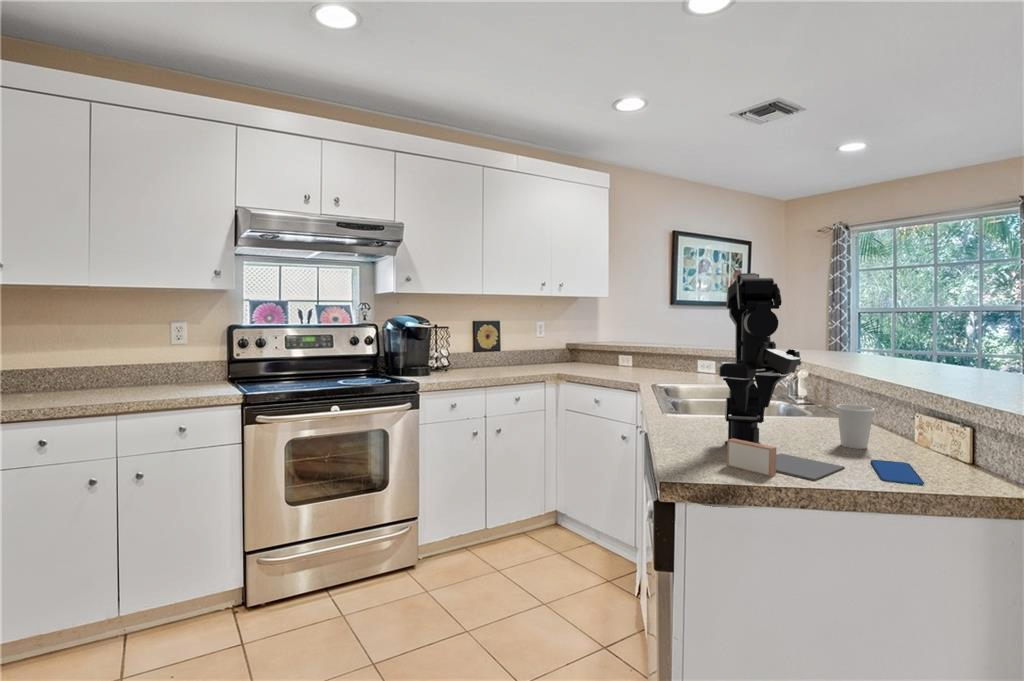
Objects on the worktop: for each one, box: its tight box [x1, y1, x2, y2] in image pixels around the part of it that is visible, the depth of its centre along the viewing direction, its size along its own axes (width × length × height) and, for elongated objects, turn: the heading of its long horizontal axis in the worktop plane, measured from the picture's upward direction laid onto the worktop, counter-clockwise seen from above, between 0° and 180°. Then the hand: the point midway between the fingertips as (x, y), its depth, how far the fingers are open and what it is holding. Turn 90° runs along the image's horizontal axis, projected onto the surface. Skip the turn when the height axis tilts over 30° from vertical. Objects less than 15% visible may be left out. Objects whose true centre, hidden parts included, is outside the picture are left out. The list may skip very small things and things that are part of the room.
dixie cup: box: [835, 403, 876, 450], centre depth 140 cm, size 8×8×10 cm
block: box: [726, 438, 777, 477], centre depth 120 cm, size 10×2×6 cm, turn 37°
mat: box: [776, 452, 846, 482], centre depth 122 cm, size 14×14×1 cm
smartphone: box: [870, 459, 925, 486], centre depth 117 cm, size 7×1×15 cm
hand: (754, 409), depth 119 cm, fingers open, 9 cm apart
